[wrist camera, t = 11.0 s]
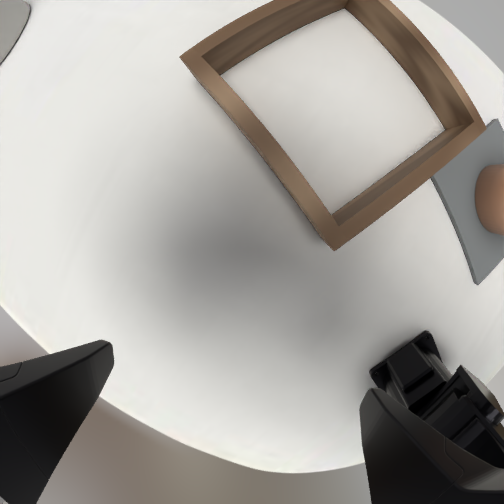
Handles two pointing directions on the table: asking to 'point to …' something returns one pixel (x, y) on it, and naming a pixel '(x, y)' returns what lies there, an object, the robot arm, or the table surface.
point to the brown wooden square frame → (402, 49)
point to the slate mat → (473, 199)
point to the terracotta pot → (491, 198)
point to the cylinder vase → (11, 23)
